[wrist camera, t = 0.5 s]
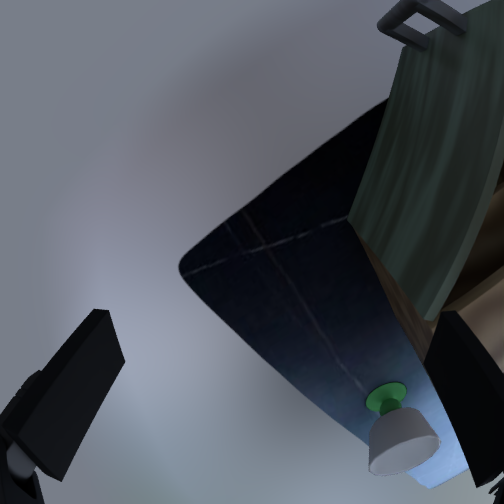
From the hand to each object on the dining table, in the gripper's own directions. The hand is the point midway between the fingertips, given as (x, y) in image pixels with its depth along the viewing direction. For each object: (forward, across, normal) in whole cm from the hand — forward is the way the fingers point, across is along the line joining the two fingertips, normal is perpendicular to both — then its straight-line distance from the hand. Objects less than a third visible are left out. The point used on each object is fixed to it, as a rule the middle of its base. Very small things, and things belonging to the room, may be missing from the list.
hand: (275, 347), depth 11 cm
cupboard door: (+31, +12, +10) cm, 34 cm away
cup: (+30, +23, -40) cm, 56 cm away
